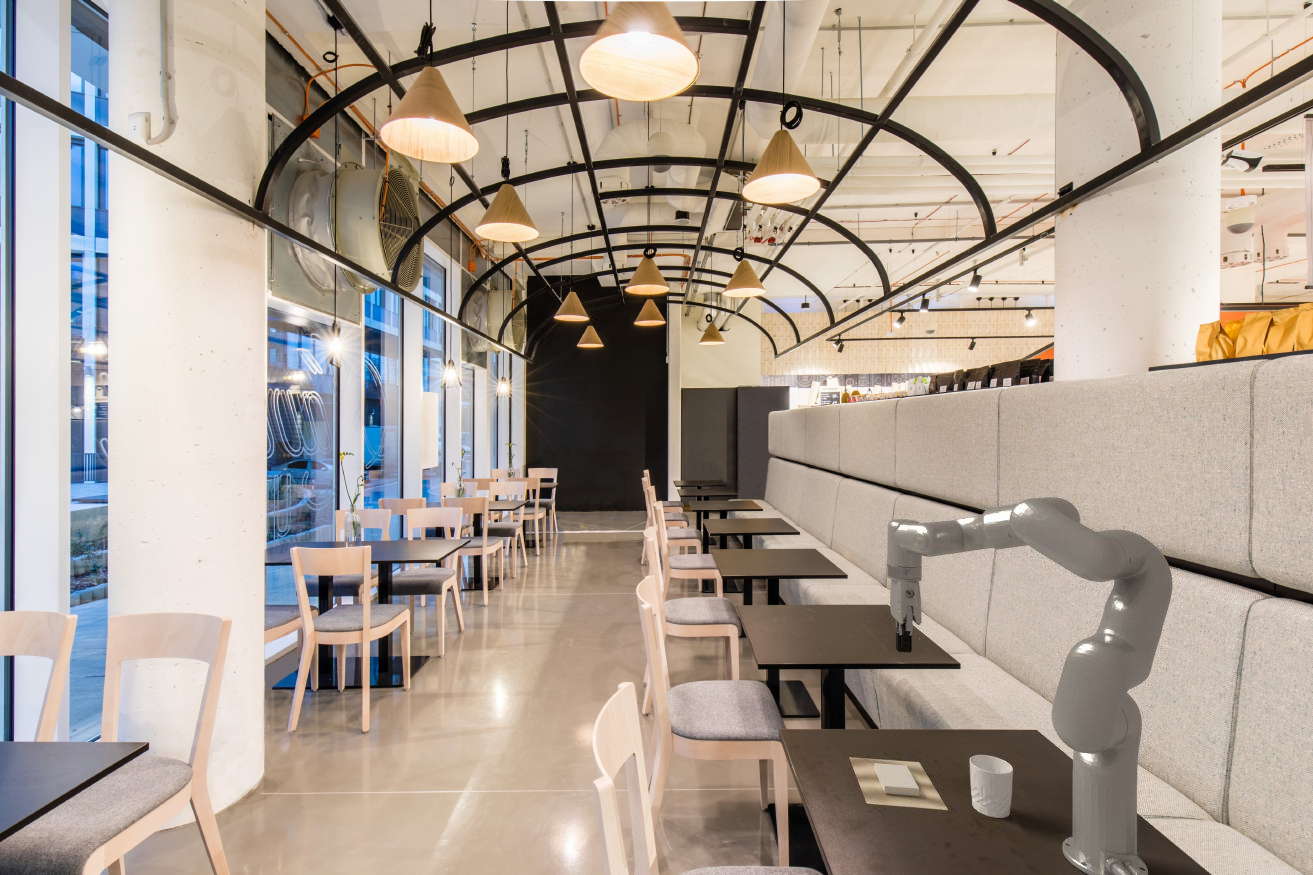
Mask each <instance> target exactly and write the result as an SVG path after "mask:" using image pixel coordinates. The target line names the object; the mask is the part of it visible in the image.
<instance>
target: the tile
mask: <svg viewBox="0 0 1313 875" xmlns="http://www.w3.org/2000/svg"><path fill="white" fill-rule="evenodd" d="M874 770H875V773H876V775H877V777H878V779H879V782H880V784H881V786H882V788H883V791H884V793H885V794H890V795H902V796H915V797H918V796H919V787H918V786H917V784H916V782H915V780H914V778H913V777H912V775H911V773H910V771H909V769H908V768H907V766H906V765H893V764H880V763H874Z"/></svg>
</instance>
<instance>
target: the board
mask: <svg viewBox="0 0 1313 875" xmlns="http://www.w3.org/2000/svg"><path fill="white" fill-rule="evenodd" d="M849 762H850V764H851V766H852V768H853V771H854V773H855V776H856V779H857V782H858V784H859V786H860V790H861V792H862V794H863V798H864V801H865V803H866V804H868V805H880V806H893V807H904V808H905V807H906V808H917V809H929V810H930V809H931V810H942V811H949V809H948V807H947V806H946V804H945V802H944V801H943V799H942V798H941V796H940V794H939V792H938V791H937V790H936V787H935V786H934V784H933V783H932V781H931V779H930V778H929V776H928V775H927V773H926V770H924V768H923V766H922V764H921V763H920V762H919V761H909V760H908V761H907V760H906V761H904V760H895V759H893V760H892V759H876V758H863V757H850V756H849ZM874 763H880V764H893V765H906V766H907V768H908V769H909V771H910V773H911V775H912V777H913V778H914V780H915V782H916V784H917V786H918V787H919V796H918V797H915V796H902V795H890V794H885V793H884V791H883V788H882V786H881V784H880V782H879V779H878V777H877V775H876V773H875V770H874Z"/></svg>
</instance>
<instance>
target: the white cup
mask: <svg viewBox="0 0 1313 875" xmlns="http://www.w3.org/2000/svg"><path fill="white" fill-rule="evenodd" d="M1013 775H1014V768H1013V766H1012V765H1011V764H1010V763H1009V762H1007V761H1006V760H1004V759H1001V758H999V757H997V756H993V755H987V754H975V755H973V756H971V757H970V758H969V778H970V780H969V781H970V793H971V794H970V795H971V805H972V807H973V809H975V810H976V811H977V812H978V813H980V814H982V815H984V816H987V817H991V818H996V819H997V818H998V819H999V818H1000V819H1004V818H1007V817H1009V815H1010V814H1011V804H1012V796H1013V778H1014V777H1013Z"/></svg>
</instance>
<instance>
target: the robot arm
mask: <svg viewBox="0 0 1313 875" xmlns="http://www.w3.org/2000/svg"><path fill="white" fill-rule="evenodd" d="M1026 546H1029V547H1030V548H1032V549H1033V550H1035V551H1037V552H1038V553H1039V554H1041V555H1043V556H1044V557H1046V558H1048V559H1050V560H1051V561H1052V562H1054V563H1055V564H1057V565H1059V566H1060V567H1062V568H1064V569H1065V570H1067V571H1068V572H1071V573H1072V574H1074V575H1075V576H1078V577H1079V578H1082V579H1084V580H1087V581H1090V582H1094V583H1095V582H1096V583H1105V582H1110V581H1113V587H1112V589H1111V591H1110V593H1109V595H1108V597H1107V599H1106V602H1105V604H1104V607H1103V613H1102V617H1101V620H1100V622H1099V625H1098V628H1097V629H1096V632H1095V633H1094V634H1093V635H1092V636H1088V637H1086V638H1083V639H1081V640H1079V641H1078V642H1077V643H1076V644H1075V645H1073V646H1072V648H1071V649H1070V651H1069V652H1068V654H1067V656H1066V659H1065V662H1064V664H1063V667H1062V672H1061V675H1060V678H1059V682H1058V685H1057V689H1056V692H1055V694H1054V700H1053V703H1052V708H1051V721H1052V726H1053V729H1054V731H1055V733H1056V735H1057V736H1058V738H1059V739H1060V740H1061V741H1062V743H1064V744H1065V746H1067V747H1069V748H1070V749H1072V750H1073V753H1072V754H1073V755H1072V836H1070V837H1067V838H1066V839H1064V840H1063V842H1062V853H1063V855H1064V858H1066V859H1067V861H1068V862H1069V863H1070V864H1071V865H1073V866H1074V867H1075V868H1077V869H1078V870H1080V872H1081V871H1082V872H1083V873H1085V874H1087V875H1149V871H1148V866H1147V865H1146V864H1145V862H1144V861H1143V860H1142V859H1141V858H1140V857H1139V856H1138V765H1139V751H1140V745H1141V744H1140V743H1141V736H1142V730H1143V727H1142V726H1143V721H1142V714H1141V711H1140V708H1139V706H1138V704H1137V702H1136V701H1135V699H1134V698H1133V697H1132V696H1131V695H1130V694H1129V693H1128V692H1129V691H1130V690H1132V689H1134V688H1136V687H1137V686H1139V685H1141V684H1143V682H1145V681H1146V680H1147V679H1148V678H1149V676H1150V674H1151V671H1152V667H1153V664H1154V659H1155V655H1156V652H1157V649H1158V645H1159V642H1160V638H1161V636H1162V634H1163V632H1162V631H1163V627H1164V624H1165V620H1166V616H1167V613H1168V610H1169V608H1170V604H1171V599H1172V593H1173V576H1172V572H1171V571H1172V570H1171V568H1170V565H1169V563H1168V561H1167V559H1166V558H1165V556H1164V554H1163V553H1162V552H1161V551H1160V550H1159V549H1158V547H1157V546H1156V545H1155V544H1154V543H1152V542H1151V541H1150V540H1148V539H1147V538H1145V537H1144V536H1143V535H1140V534H1139V533H1136V532H1134V531H1131V530H1126V529H1125V530H1124V529H1108V530H1107V529H1106V530H1101V531H1095V530H1094V529H1091V528H1090V527H1088V526H1086V525H1084V524H1082V523H1081V515H1080V513H1079V511H1078V509H1077V508H1076V506H1075V504H1073V503H1071V502H1070V501H1069V500H1067V499H1064V498H1061V497H1057V496H1056V497H1055V496H1053V497H1052V496H1049V497H1047V496H1046V497H1033V498H1026V499H1024V500H1021V501H1020V502H1018V503H1017V502H1016V503H1012V504H1008V505H1002V506H996V507H991V508H988V509H985V510H984V511H983V513H982V514H979V515H978V514H977V515H975V516H974V515H973V516H969V517H965V518H959V519H951V520H945V521H944V520H942V521H931V522H919V521H917V520H915V519H905V518H904V519H903V518H900V519H899V518H898V519H897V518H896V519H895V518H894V519H891V520H890V521H889V522H888V524H887V559H886V560H887V564H886V565H887V572H886V573H887V575H886V576H887V579H889V580H891V581H890V592H889V594H890V595H889V599H890V600H889V608H890V611H889V612H890V614H891V616H892V617H893V619H895V631H896V632H895V649H896V651H897V652H899V653H912V651H913V647H912V646H913V631H914V624H913V623H915V624H916V625H918V626H920V625H921V624H922V623H923V621H922V598H921V595H922V594H921V586H920V582H922V580H923V579H922V578H923V576H922V572H923V571H922V568H923V567H922V565H923V564H922V563H923V561H922V559H923V558H922V557H927V558H929V557H930V558H933V557H938V556H945V555H953V554H960V553H965V552H966V553H967V552H972V551H981V550H988V549H995V550H1005V549H1013V548H1019V547H1026Z"/></svg>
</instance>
